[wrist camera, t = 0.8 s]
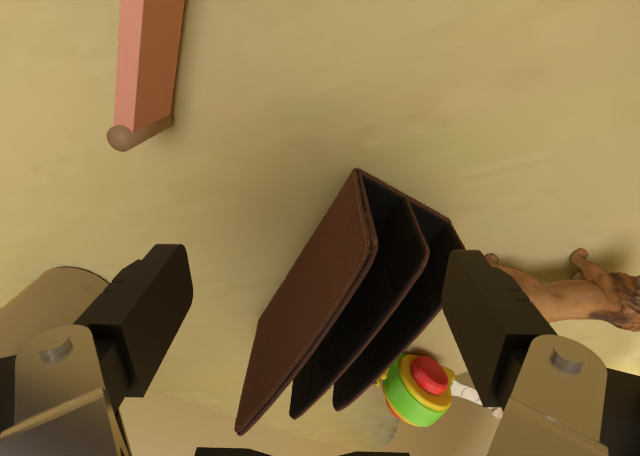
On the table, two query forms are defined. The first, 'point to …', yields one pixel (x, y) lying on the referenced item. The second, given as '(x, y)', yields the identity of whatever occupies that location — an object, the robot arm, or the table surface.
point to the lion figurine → (583, 294)
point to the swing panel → (145, 70)
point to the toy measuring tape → (423, 390)
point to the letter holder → (349, 300)
